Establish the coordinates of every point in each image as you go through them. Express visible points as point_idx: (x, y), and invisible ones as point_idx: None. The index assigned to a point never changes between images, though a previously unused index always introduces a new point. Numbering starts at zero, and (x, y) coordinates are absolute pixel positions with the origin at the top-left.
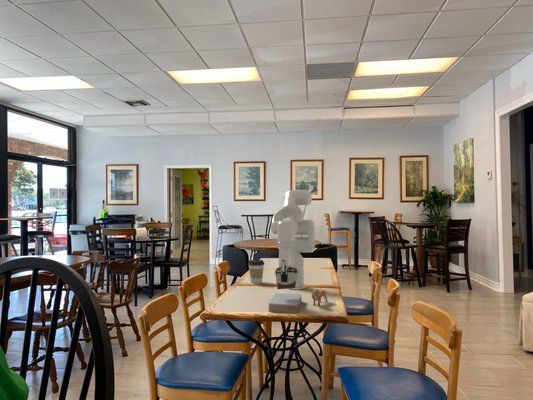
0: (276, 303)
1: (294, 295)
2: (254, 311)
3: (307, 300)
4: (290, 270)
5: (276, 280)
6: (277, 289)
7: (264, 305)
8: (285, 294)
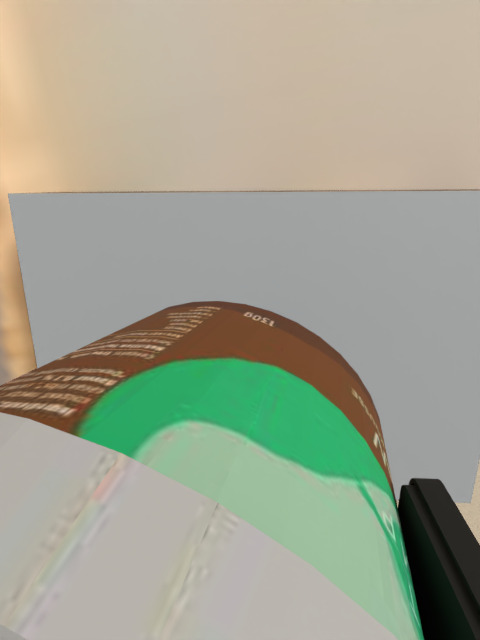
0: (30, 287)
1: (398, 440)
2: (20, 25)
3: (475, 497)
4: None
5: (45, 368)
6: (167, 308)
7: (262, 91)
8: (448, 337)
